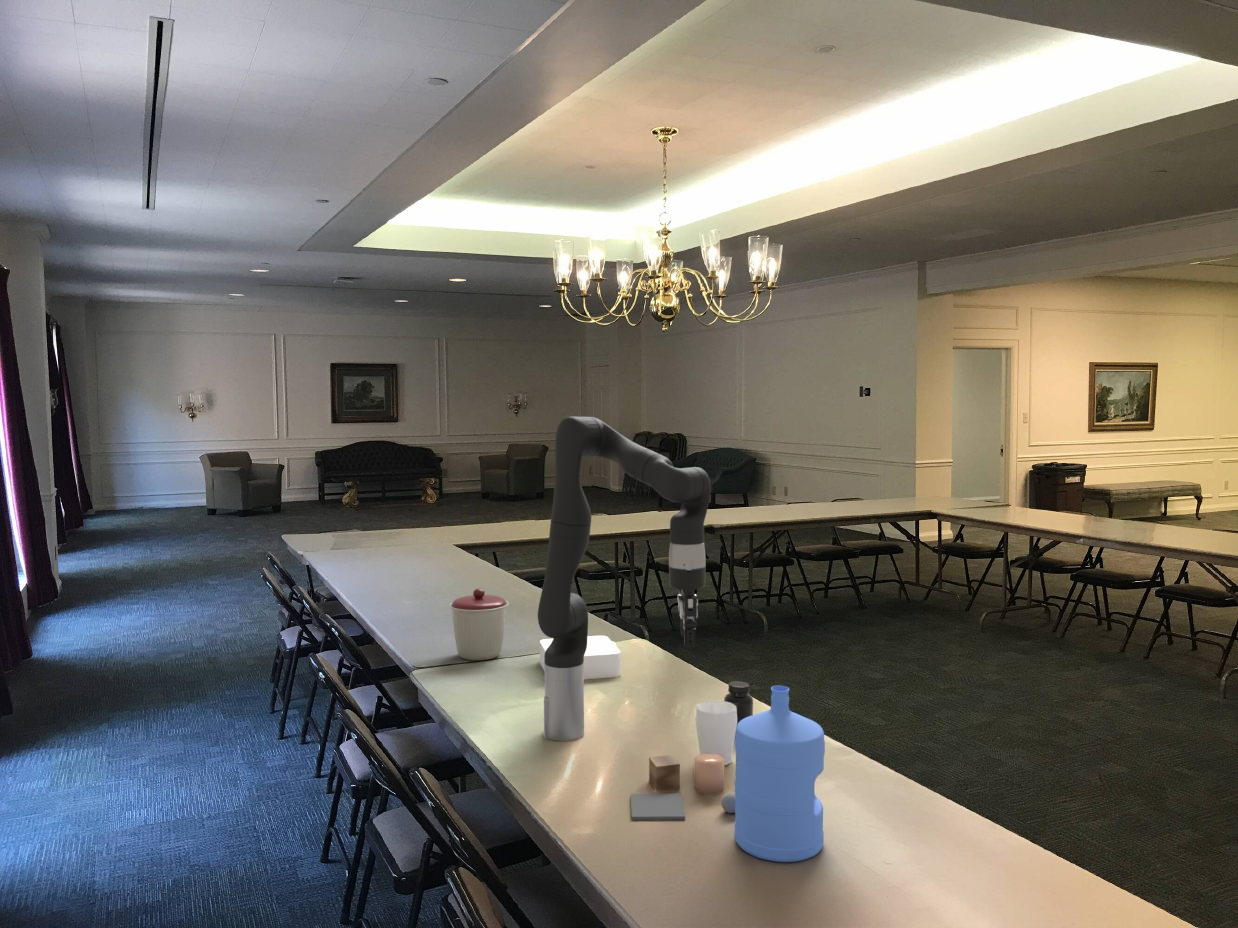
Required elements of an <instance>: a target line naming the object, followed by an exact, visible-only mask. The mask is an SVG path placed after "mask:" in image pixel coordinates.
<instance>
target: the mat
mask: <svg viewBox="0 0 1238 928" xmlns="http://www.w3.org/2000/svg"><path fill="white" fill-rule="evenodd" d="M630 808H631V809H630V811H631V820H632V821H635V820H636V821H640V820H641V821H645V820H647V821H648V820H649V821H650V820H655V821H656V820H658V821H659V820H660V821H661V820H662V821H663V820H664V821H666V820H667V821H668V820H669V821H670V820H671V821H672V820H681V821H682V820H685V819H686V814H685V808H684V804H683V797H682V793H680V792H679V793H630Z"/></svg>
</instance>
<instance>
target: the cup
mask: <svg viewBox="0 0 1238 928" xmlns="http://www.w3.org/2000/svg"><path fill="white" fill-rule="evenodd" d="M695 711H696V712H695V725H696V726H695V727H696V733H697V741H698V748H699V755H700V754H716V755H719V756H721V757H723V758H724V766H727V765H730V764H731V762H732V760H733V752H734V747H735V733H736V727H737V709H736V706H735V705H734V704H732V703H730V702H726V701H724V700H719V699H717V700H716V699H715V700H714V699H712V700H705V701H702V702H699V703H697V704H696V709H695Z"/></svg>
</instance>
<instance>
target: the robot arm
mask: <svg viewBox="0 0 1238 928" xmlns="http://www.w3.org/2000/svg"><path fill="white" fill-rule="evenodd" d="M554 447H555V448H554V450H555V454H554V464H555V465H554V488H553V499H552V500H553V501H552V510H551V517H550V526H549V534H548V535H549V537H548V538H549V539H548V548H547V554H546V555H547V556H546V557H547V558H546V566H545V574H544V578H543V585H542V590H541V593H540V598H539V603H538V609H537V621H538V626H539V629H540V630H541V632H542V633H543V634H544V635H545V636H546V637H548V638H549V639H553V641H552V643H551V644H550V646H549V647H548V648H547V650H546V651H545V655H544V663H545V672H544V697H543V738H544V740H545V739H546V740H547V739H548V740H549V739H550V740H553V741H558V742H559V741H562V742H564V741H565V742H566V741H567V742H569V741H574V740H577V739H581V738H582V737H583V736H584V735H585V681H584V680H585V679H584V654H585V652H586V649H587V638H588V636H589V634H588V633H589V631H588V630H589V613H588V612H589V611H588V607H587V604H586V602H585V600H584V599H583V597H582V596H580V595H579V594H577V593H574V592H572V586H573V583H574V582H573V581H574V579H575V576H576V573H577V571H578V569H579V566H580V564H581V563H582V560H583V558H584V556H585V554H586V551H587V549H588V545H589V542H590V534H591V527H592V511H591V508H590V505H589V502H588V499H587V497H586V495H585V493H584V490H583V487H582V482H581V467H582V459H583V458H592V457H599V458H604V459H608V460H610V461H613V462H615V463H616V464H617V465H619V467H620V468H621V469H622V470H623V472H624V473H625V474H627V475H628V476H629V477H631V478H633V479H634V480H637V481H638V482H640V483H643V484H644V485H647V486H649V487H651V489H653V490H654V491H655V492H657V494H658V495H659V496H661V497H662V498H663V499H665V500H666V501H669V502H672V503H677V504H681V506H680V510H679V511H678V512H677V513H676V514H673V516H672V517H671V518H670V522H669V542H670V543H669V550H668V551H669V552H668V569H669V570H668V572H669V573H668V576H669V577H668V579H669V580H668V581H669V582H668V583H669V584H668V585H669V587H670V588H672V589H675V590H678V591H679V592H678V594H677V596H676V597H677V603H678V605H677V609H678V612H679V617H680V636H681V637H683V639H684V640H683V641H684V643H683V644H684V647H685V648H695V647H696V629H697V628H698V616H699V614H698V613H699V612H698V605H699V597H698V596H697V594H695V590H700V589H703V588H706V585H707V582H706V580H707V579H706V577H707V576H706V575H707V573H706V570H707V569H706V568H707V566H706V563H707V562H706V547H705V524H704V523H705V519H706V516H707V512H708V508H709V503H710V499H711V493H712V492H711V491H712V486H711V485H712V484H711V479H710V476H709V475H708V473H707V472H706V471H705V470H704V469H703V468H701V467H698V466H697V467H696V466H692V467H683V468H679V467H675V466H674V465H673V463H672V461H671V460H670V459H669V458H668V457H667V456H664V455H662V454H660V453H658V452H655V450H654V451H653V450H652V449H649V448H646V447H644V446H642V445H640V444H638V443H636V442H634V441H632V440H630V439H628V438H627V437H625V436H624V435H622V434H620V433H619V432H618V431H616V430H615V429H613V428H612V427H611V426H610V425H608V424H607V423H605V422H604V421H602V420H601V419H600V418H597V417H593V416H566V417H564V418H562V419H561V421H560V422H559V423H558V426H557V428H556V433H555V442H554Z"/></svg>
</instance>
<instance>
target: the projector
mask: <svg viewBox="0 0 1238 928" xmlns="http://www.w3.org/2000/svg"><path fill="white" fill-rule="evenodd" d="M552 641H553V638H544V639H541V640H539V664H540V667H541V668H542V670H543V672H544V673H545V663H544V655H545V651H546V650H547V648H548V647H549V646H550V644H551V643H552ZM621 665H622V663H621V650H620V649H619V648H618V646H617V644H616V642H615V641H613V640H611V638H609V636H606V635H591V636H590V635H588V638H587V649H586V652H585V654H584V680H591V679H592V680H593V679H603V678H616V677H619V676H621V675H622V674H621Z"/></svg>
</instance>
